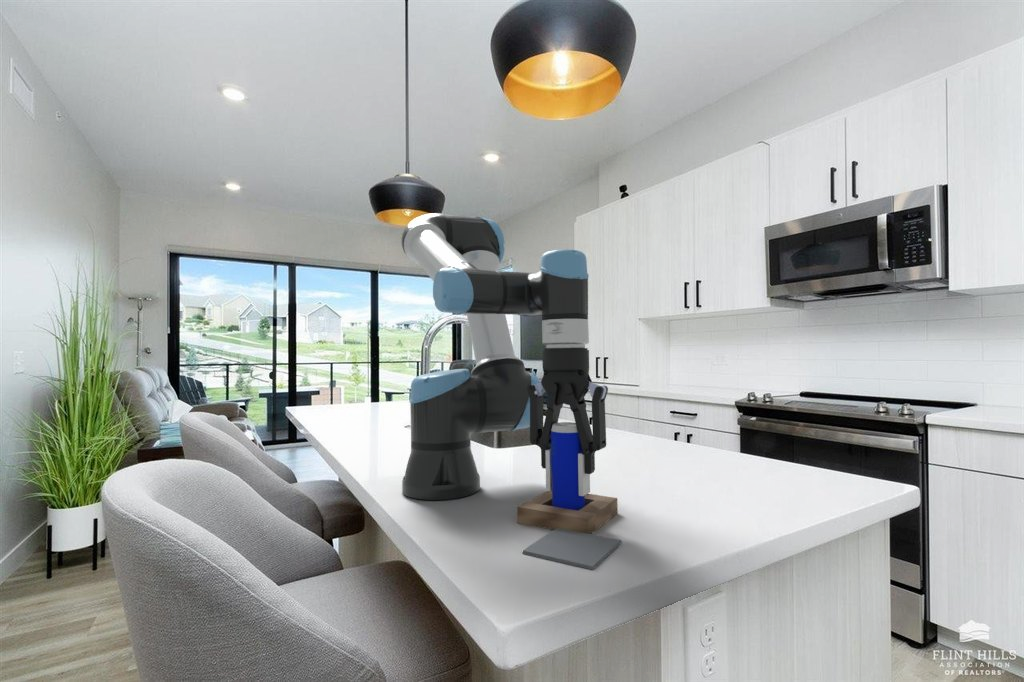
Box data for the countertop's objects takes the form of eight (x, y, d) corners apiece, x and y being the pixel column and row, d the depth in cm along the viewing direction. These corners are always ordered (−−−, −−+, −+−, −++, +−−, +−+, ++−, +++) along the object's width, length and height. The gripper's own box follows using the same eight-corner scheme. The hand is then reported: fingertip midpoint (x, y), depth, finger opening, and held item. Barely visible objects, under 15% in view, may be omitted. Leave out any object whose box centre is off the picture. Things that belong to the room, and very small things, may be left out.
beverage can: (566, 510, 84) (564, 421, 85) (591, 517, 81) (589, 423, 81) (545, 518, 81) (544, 424, 81) (571, 525, 77) (569, 427, 77)
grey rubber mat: (522, 553, 67) (522, 550, 67) (557, 530, 75) (557, 527, 75) (592, 569, 61) (592, 566, 61) (621, 542, 70) (621, 539, 70)
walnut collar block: (517, 522, 79) (517, 506, 79) (552, 502, 89) (552, 488, 89) (588, 536, 72) (587, 518, 72) (617, 513, 83) (617, 498, 83)
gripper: (505, 347, 83) (508, 489, 82) (609, 345, 73) (613, 505, 73) (528, 347, 89) (530, 479, 89) (627, 345, 80) (630, 493, 79)
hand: (567, 491), depth 81 cm, fingers closed on beverage can, 5 cm apart
